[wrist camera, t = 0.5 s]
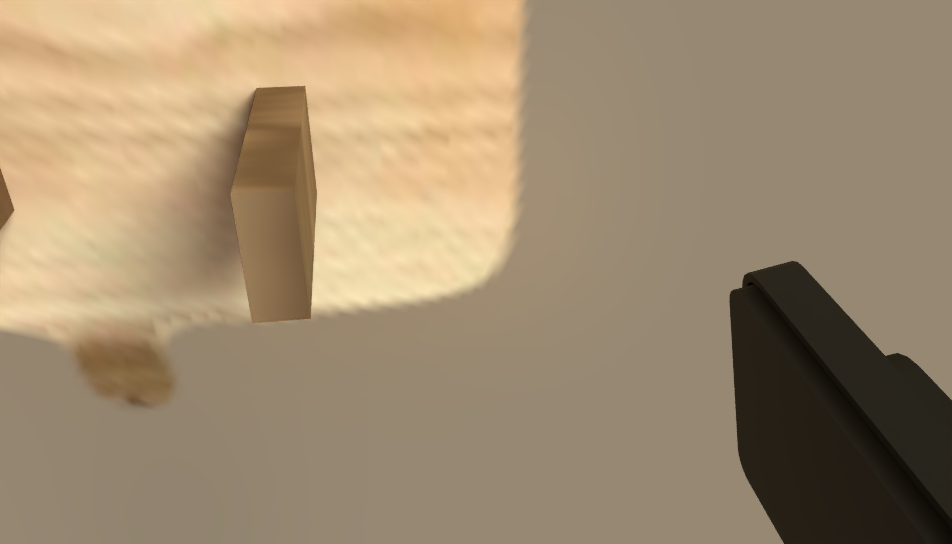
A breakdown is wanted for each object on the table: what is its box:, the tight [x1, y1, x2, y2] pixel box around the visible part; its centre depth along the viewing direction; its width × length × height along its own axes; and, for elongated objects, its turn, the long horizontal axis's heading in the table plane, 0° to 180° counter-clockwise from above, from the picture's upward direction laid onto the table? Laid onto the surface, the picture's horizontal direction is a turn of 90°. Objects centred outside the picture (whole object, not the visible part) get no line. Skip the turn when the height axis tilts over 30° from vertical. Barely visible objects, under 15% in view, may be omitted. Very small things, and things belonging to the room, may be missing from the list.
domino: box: [230, 86, 317, 323], centre depth 31 cm, size 2×5×10 cm, turn 0°
